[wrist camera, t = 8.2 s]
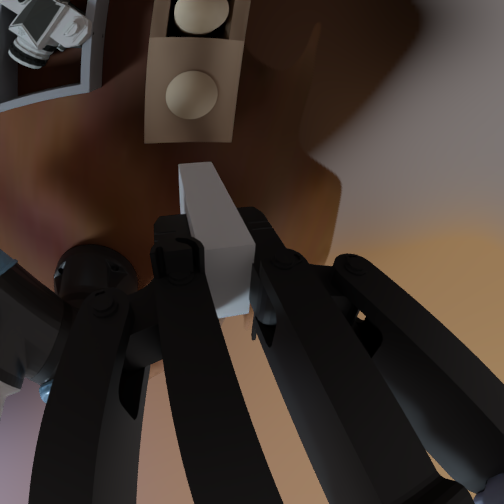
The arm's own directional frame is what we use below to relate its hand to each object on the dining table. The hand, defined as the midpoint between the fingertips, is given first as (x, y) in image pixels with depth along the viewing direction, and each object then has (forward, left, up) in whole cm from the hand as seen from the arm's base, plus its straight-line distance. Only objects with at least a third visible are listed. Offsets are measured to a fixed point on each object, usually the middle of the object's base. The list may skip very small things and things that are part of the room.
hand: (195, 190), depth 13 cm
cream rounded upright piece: (+1, +12, -24) cm, 26 cm away
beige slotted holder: (+1, +8, -25) cm, 26 cm away
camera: (-17, +13, -25) cm, 33 cm away
